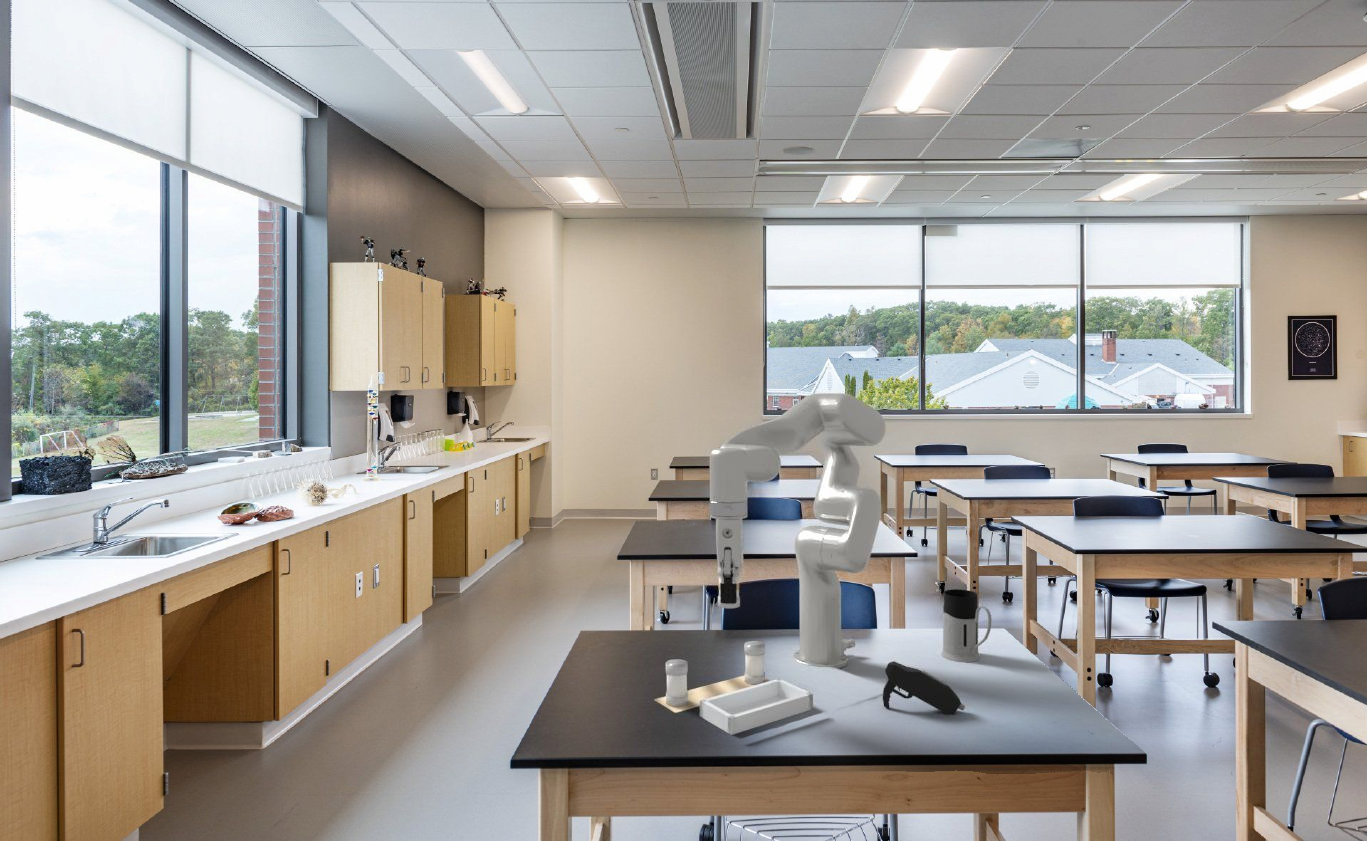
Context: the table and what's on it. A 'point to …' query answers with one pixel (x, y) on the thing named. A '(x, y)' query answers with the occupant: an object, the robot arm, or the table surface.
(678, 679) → the fuse
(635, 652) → the table surface
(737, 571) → the marked fuse
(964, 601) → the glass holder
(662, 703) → the board
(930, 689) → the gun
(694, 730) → the table surface
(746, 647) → the cylinder
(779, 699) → the tray
